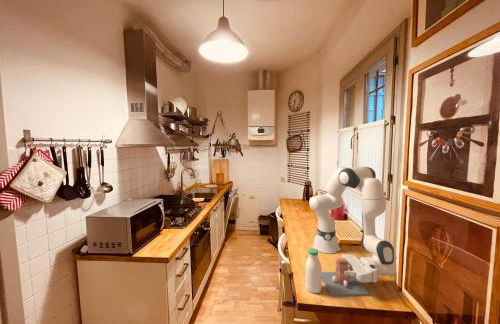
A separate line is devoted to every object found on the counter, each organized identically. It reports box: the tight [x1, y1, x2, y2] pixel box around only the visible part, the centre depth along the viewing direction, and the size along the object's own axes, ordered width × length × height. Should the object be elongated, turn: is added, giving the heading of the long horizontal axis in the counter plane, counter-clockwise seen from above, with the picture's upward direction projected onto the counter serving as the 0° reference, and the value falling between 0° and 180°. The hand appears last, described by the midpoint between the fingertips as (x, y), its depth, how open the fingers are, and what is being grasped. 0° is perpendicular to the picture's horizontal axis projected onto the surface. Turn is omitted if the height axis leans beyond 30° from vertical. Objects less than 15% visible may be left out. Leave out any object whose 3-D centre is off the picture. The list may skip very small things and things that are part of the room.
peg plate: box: [321, 271, 370, 297], centre depth 109 cm, size 18×18×4 cm
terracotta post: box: [335, 256, 349, 285], centre depth 108 cm, size 4×4×12 cm
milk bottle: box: [305, 248, 323, 294], centre depth 105 cm, size 8×8×20 cm
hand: (340, 267), depth 108 cm, fingers open, 8 cm apart
